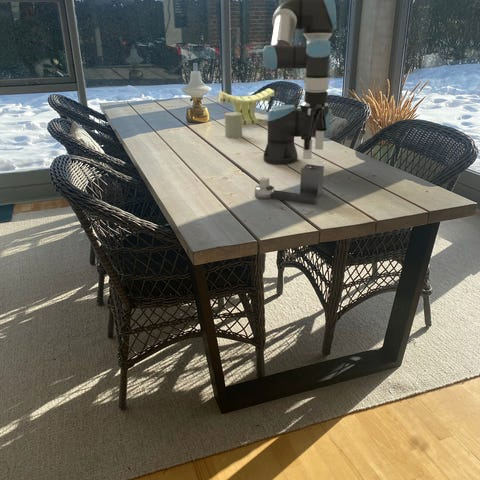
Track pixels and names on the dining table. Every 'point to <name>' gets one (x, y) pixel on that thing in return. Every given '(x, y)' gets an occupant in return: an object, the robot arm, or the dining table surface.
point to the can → (233, 124)
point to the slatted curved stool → (246, 104)
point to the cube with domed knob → (312, 180)
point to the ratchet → (281, 193)
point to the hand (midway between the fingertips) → (313, 153)
